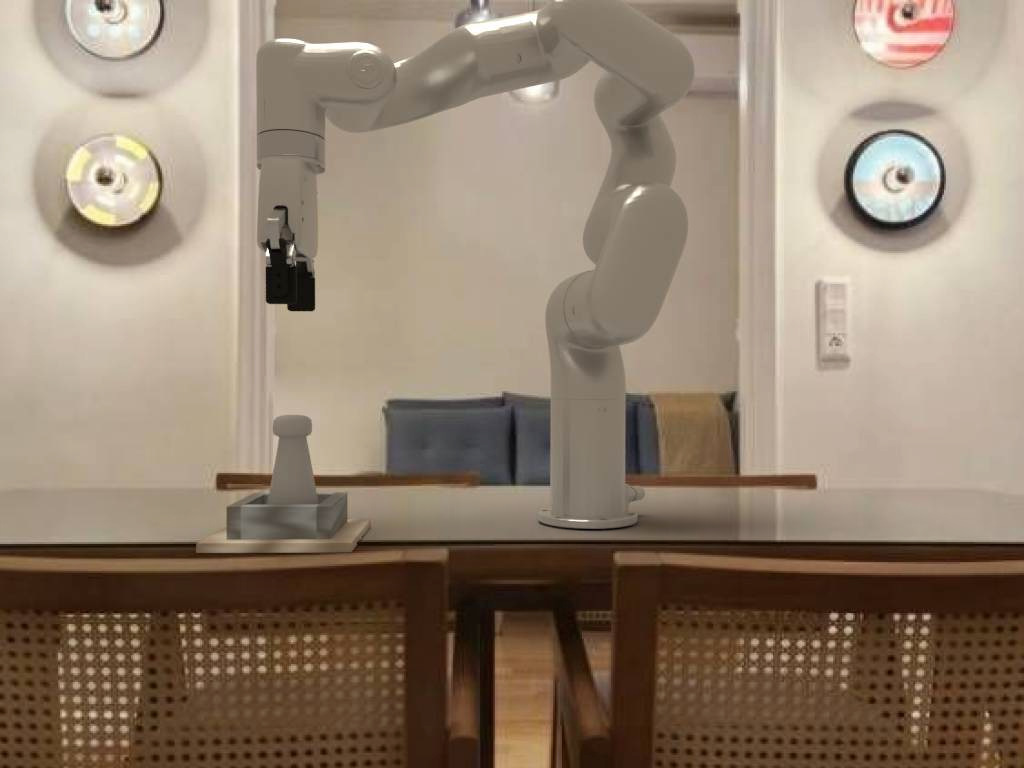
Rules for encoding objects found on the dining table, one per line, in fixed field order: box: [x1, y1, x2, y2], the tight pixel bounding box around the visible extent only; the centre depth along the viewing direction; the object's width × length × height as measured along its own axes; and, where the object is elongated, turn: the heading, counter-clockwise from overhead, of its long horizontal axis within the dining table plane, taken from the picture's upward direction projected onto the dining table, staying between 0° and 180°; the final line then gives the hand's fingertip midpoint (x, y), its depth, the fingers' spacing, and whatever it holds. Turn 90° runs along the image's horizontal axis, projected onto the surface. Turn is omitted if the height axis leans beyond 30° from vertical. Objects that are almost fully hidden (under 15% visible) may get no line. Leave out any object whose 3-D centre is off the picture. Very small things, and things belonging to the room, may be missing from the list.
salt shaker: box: [267, 414, 319, 505], centre depth 95 cm, size 6×6×13 cm
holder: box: [195, 491, 372, 554], centre depth 95 cm, size 16×15×4 cm
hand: (291, 307), depth 95 cm, fingers open, 9 cm apart
